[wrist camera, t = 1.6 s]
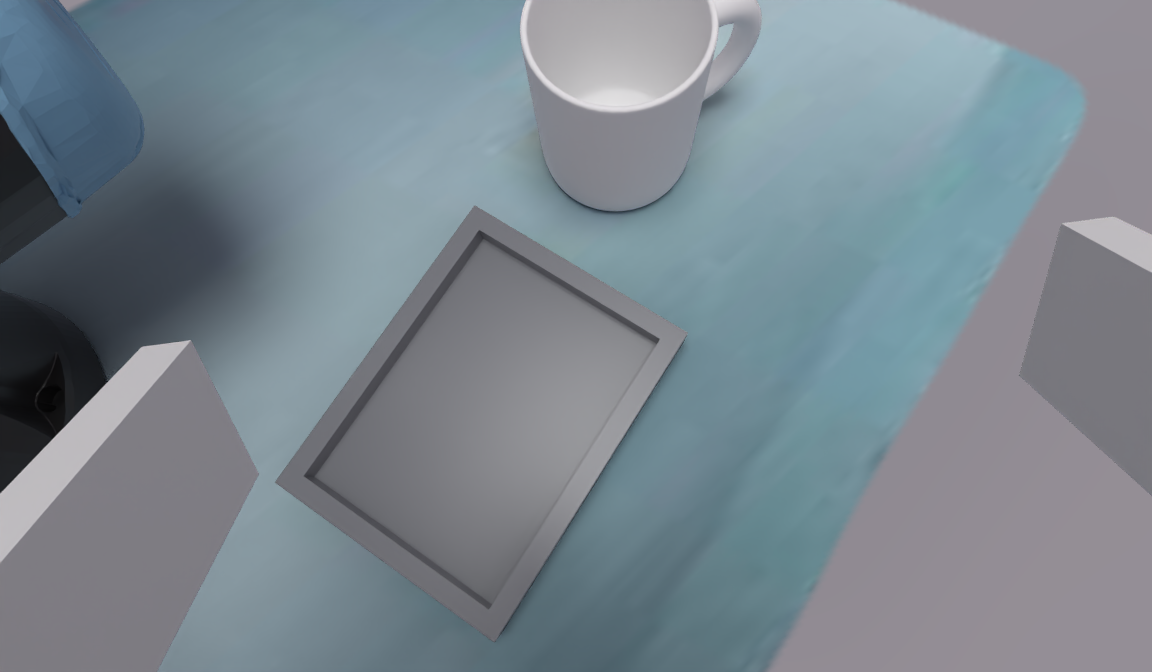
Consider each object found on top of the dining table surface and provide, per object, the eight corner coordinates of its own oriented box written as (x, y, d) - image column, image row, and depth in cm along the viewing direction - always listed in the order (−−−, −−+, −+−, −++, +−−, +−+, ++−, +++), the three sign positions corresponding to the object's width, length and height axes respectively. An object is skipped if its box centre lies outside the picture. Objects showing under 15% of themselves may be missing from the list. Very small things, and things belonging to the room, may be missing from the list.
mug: (704, 36, 39) (737, -123, 29) (775, 149, 37) (836, 21, 27) (519, 121, 38) (487, -12, 28) (582, 241, 36) (572, 144, 26)
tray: (294, 482, 34) (274, 482, 32) (481, 220, 37) (474, 205, 35) (501, 633, 32) (494, 642, 30) (683, 341, 35) (687, 332, 33)
